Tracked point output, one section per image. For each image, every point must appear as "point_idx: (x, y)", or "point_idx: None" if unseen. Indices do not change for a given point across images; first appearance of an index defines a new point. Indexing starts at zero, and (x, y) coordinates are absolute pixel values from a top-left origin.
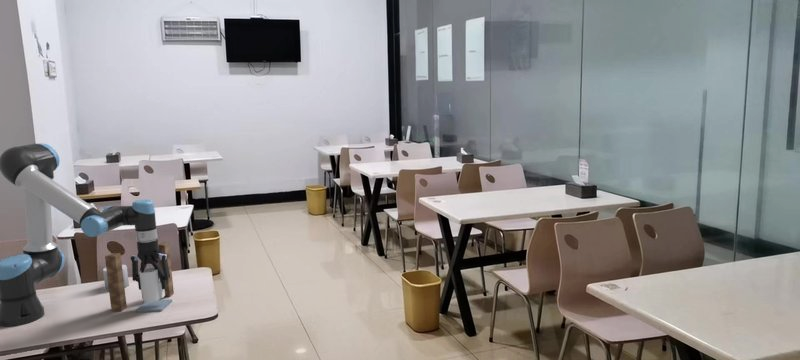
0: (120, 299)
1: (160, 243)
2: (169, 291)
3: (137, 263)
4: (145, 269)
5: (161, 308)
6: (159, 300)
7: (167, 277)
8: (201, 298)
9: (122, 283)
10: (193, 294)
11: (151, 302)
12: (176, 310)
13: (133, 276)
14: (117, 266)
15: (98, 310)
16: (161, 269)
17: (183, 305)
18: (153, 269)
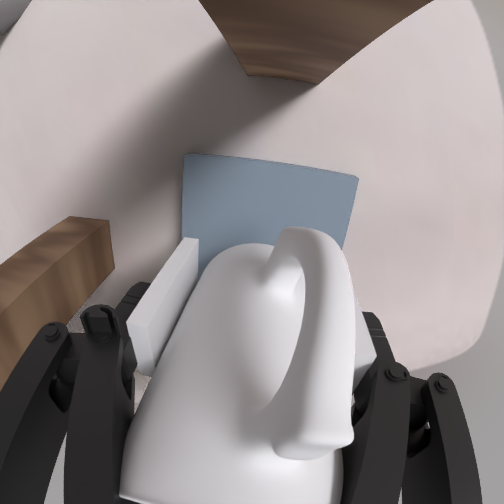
0: (83, 302)
1: None
2: (325, 77)
3: (6, 500)
4: (130, 483)
5: None
6: (274, 177)
7: (420, 430)
8: (486, 177)
9: (20, 320)
10: (449, 92)
11: (229, 205)
12: (386, 309)
13: (59, 400)
14: None
15: (33, 239)
16: (394, 487)
17: (417, 255)
18: (257, 491)
